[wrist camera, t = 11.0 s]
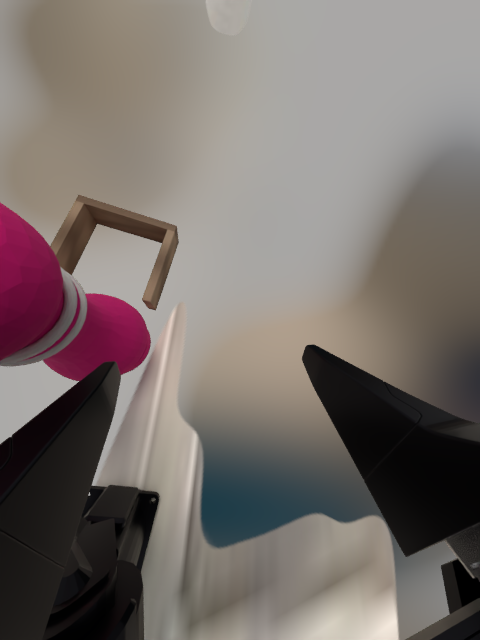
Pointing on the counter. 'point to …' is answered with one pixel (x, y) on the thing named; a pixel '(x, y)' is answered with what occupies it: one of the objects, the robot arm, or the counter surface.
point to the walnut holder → (94, 212)
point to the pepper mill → (59, 311)
